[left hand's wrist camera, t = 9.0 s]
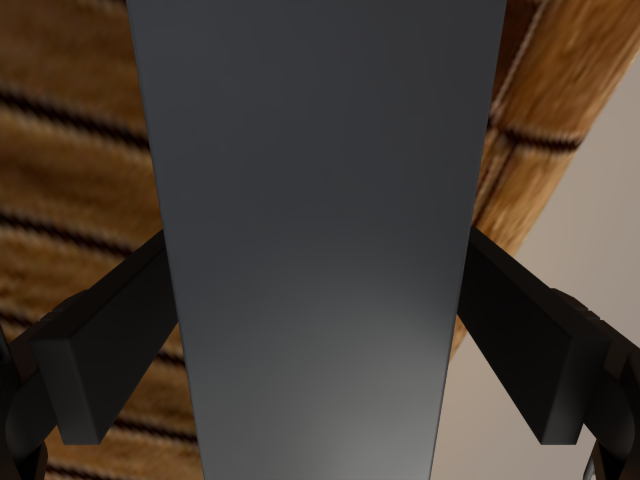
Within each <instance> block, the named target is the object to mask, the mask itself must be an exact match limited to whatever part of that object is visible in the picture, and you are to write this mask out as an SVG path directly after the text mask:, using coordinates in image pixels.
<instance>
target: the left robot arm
mask: <svg viewBox="0 0 640 480" xmlns="http://www.w3.org/2000/svg"><path fill="white" fill-rule="evenodd" d="M457 315H458V316H459V318H460V319H461V321H462V323H463V324H464V326H465V327H466V329H467V330H468V332H469V333H470V335H471V336H472V338H473V340H474V341H475V343H476V344H477V346H478V347H479V349H480V351H481V352H482V354H483V355H484V357H485V358H486V360H487V361H488V363H489V365H490V366H491V368H492V369H493V371H494V372H495V374H496V375H497V377H498V379H499V380H500V382H501V383H502V385H503V386H504V388H505V389H506V391H507V393H508V394H509V396H510V397H511V399H512V400H513V402H514V404H515V405H516V407H517V408H518V410H519V411H520V413H521V414H522V416H523V418H524V419H525V421H526V422H527V424H528V425H529V427H530V428H531V430H532V431H533V433H534V435H535V436H536V438H537V439H538V441H539V442H540V444H541V445H576V443H577V440H578V438H579V435H580V432H581V429H582V426H583V423H584V424H585V425H586V426H587V428H588V429H589V430H590V431H591V433H592V434H593V435H594V436H595V437H596V442H595V445H594V447H593V450H592V453H591V455H590V458H589V461H588V463H587V466H586V469H585V471H584V475H583V480H591V477H592V475H594V474H595V476H596V480H640V348H638V347H637V346H636V345H635V344H633V343H632V342H631V341H629V340H628V339H627V338H626V337H624V336H623V335H622V334H620V333H619V332H618V331H617V330H615V329H614V328H613V327H611V326H610V325H609V324H608V323H606V322H605V321H604V320H600V317H599V316H597V315H596V314H595V313H593V312H592V311H588V308H587V307H586V306H584V305H583V304H582V303H580V302H579V301H578V300H577V299H575V298H574V297H572V296H570V295H568V294H566V293H564V292H562V291H559V290H557V289H555V288H549V287H548V286H547V285H545V284H544V283H543V282H542V281H541V280H539V279H538V278H537V277H536V276H534V275H533V274H532V273H531V272H530V271H528V270H527V269H526V268H525V267H523V266H522V265H521V264H520V263H519V262H517V261H516V260H515V259H514V258H512V257H511V256H510V255H509V254H508V253H506V252H505V251H504V250H503V249H501V248H500V247H499V246H498V245H496V244H495V243H494V242H493V241H492V240H490V239H489V238H488V237H487V236H485V235H484V234H483V233H482V232H481V231H479V230H478V229H477V228H476V227H474V226H471V227H470V233H469V239H468V246H467V252H466V258H465V264H464V271H463V277H462V283H461V289H460V296H459V302H458V308H457ZM177 323H178V317H177V311H176V304H175V298H174V292H173V286H172V280H171V274H170V268H169V262H168V255H167V249H166V243H165V237H164V231H163V229H162V230H161V231H159V232H158V233H157V234H156V235H155V236H153V237H152V238H151V239H150V240H148V241H147V242H146V243H145V244H144V245H142V246H141V247H140V248H139V249H137V250H136V251H135V252H134V253H133V254H131V255H130V256H129V257H128V258H126V259H125V260H124V261H123V262H121V263H120V264H119V265H118V266H117V267H115V268H114V269H113V270H112V271H110V272H109V273H108V274H107V275H106V276H104V277H103V278H102V279H101V280H99V281H98V282H97V283H96V284H95V285H93V286H92V287H91V288H90V289H88V290H84V291H82V292H79V293H77V294H75V295H73V296H71V297H69V298H67V299H66V300H64V301H63V302H62V303H60V304H59V305H58V306H57V307H55V308H54V309H53V310H52V312H49V313H48V314H46V315H45V316H44V317H43V318H41V319H40V322H36V323H35V324H34V325H32V326H31V327H30V328H28V329H27V330H26V331H25V332H23V333H22V334H21V335H19V336H18V337H17V338H16V339H14V340H13V341H12V342H11V343H9V344H8V343H7V340H6V338H5V335H4V332H3V330H2V327H1V324H0V480H44V477H45V471H46V466H47V460H48V452H47V447H46V445H45V442H44V440H45V438H46V437H47V436H48V435H49V434H50V432H51V431H52V430H53V429H54V427H55V426H56V425H57V426H58V429H59V432H60V435H61V438H62V440H63V443H64V445H99V444H100V443H101V441H102V439H103V438H104V436H105V435H106V433H107V432H108V430H109V428H110V427H111V425H112V424H113V422H114V421H115V419H116V418H117V416H118V414H119V413H120V411H121V410H122V408H123V407H124V405H125V404H126V402H127V400H128V399H129V397H130V396H131V394H132V393H133V391H134V390H135V388H136V386H137V385H138V383H139V382H140V380H141V379H142V377H143V376H144V374H145V372H146V371H147V369H148V368H149V366H150V365H151V363H152V361H153V360H154V358H155V357H156V355H157V354H158V352H159V351H160V349H161V347H162V346H163V344H164V343H165V341H166V340H167V338H168V337H169V335H170V333H171V332H172V330H173V329H174V327H175V326H176V324H177Z"/></svg>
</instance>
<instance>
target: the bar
mask: <svg viewBox="0 0 640 480" xmlns="http://www.w3.org/2000/svg"><path fill="white" fill-rule="evenodd" d="M506 3H507V0H126V4H127V10H128V16H129V22H130V29H131V35H132V41H133V47H134V53H135V59H136V65H137V72H138V78H139V84H140V90H141V96H142V102H143V108H144V114H145V121H146V127H147V133H148V139H149V145H150V151H151V157H152V163H153V170H154V176H155V182H156V188H157V194H158V200H159V206H160V213H161V219H162V225H163V231H164V237H165V243H166V249H167V255H168V262H169V268H170V274H171V280H172V286H173V292H174V298H175V304H176V311H177V317H178V323H179V329H180V335H181V341H182V347H183V354H184V360H185V366H186V372H187V378H188V384H189V390H190V396H191V403H192V409H193V415H194V421H195V427H196V433H197V439H198V446H199V452H200V458H201V464H202V470H203V476H204V480H430V476H431V470H432V464H433V458H434V451H435V445H436V439H437V433H438V426H439V420H440V414H441V408H442V401H443V395H444V389H445V383H446V377H447V370H448V364H449V358H450V352H451V345H452V339H453V333H454V327H455V320H456V314H457V308H458V302H459V296H460V289H461V283H462V277H463V271H464V264H465V258H466V252H467V246H468V239H469V233H470V227H471V221H472V215H473V208H474V202H475V196H476V190H477V183H478V177H479V171H480V165H481V158H482V152H483V146H484V140H485V133H486V127H487V121H488V115H489V109H490V102H491V96H492V90H493V84H494V77H495V71H496V65H497V59H498V52H499V46H500V40H501V34H502V28H503V21H504V15H505V9H506Z"/></svg>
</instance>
